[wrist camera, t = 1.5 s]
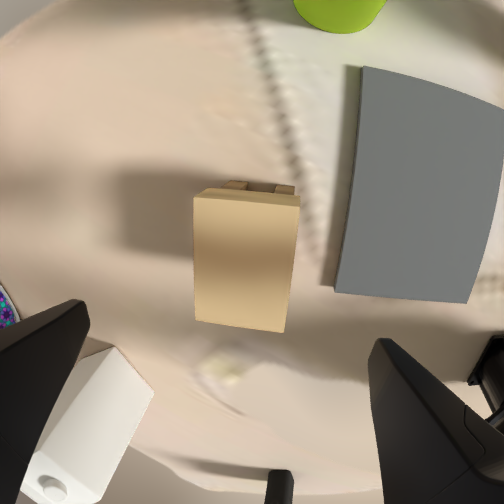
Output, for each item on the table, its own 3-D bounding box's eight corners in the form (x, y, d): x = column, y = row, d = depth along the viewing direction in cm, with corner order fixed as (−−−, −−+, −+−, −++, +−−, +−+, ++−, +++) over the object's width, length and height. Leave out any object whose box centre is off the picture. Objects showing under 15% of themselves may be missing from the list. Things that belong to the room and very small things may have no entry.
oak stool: (288, 276, 23) (283, 332, 16) (223, 268, 23) (195, 320, 17) (299, 182, 20) (300, 206, 14) (226, 176, 21) (193, 197, 14)
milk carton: (118, 398, 33) (51, 514, 15) (81, 357, 31) (-5, 471, 13) (156, 391, 31) (86, 531, 13) (115, 344, 29) (16, 484, 11)
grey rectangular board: (462, 299, 21) (466, 303, 21) (333, 287, 23) (334, 292, 22) (501, 111, 15) (507, 111, 14) (361, 68, 16) (363, 65, 16)
